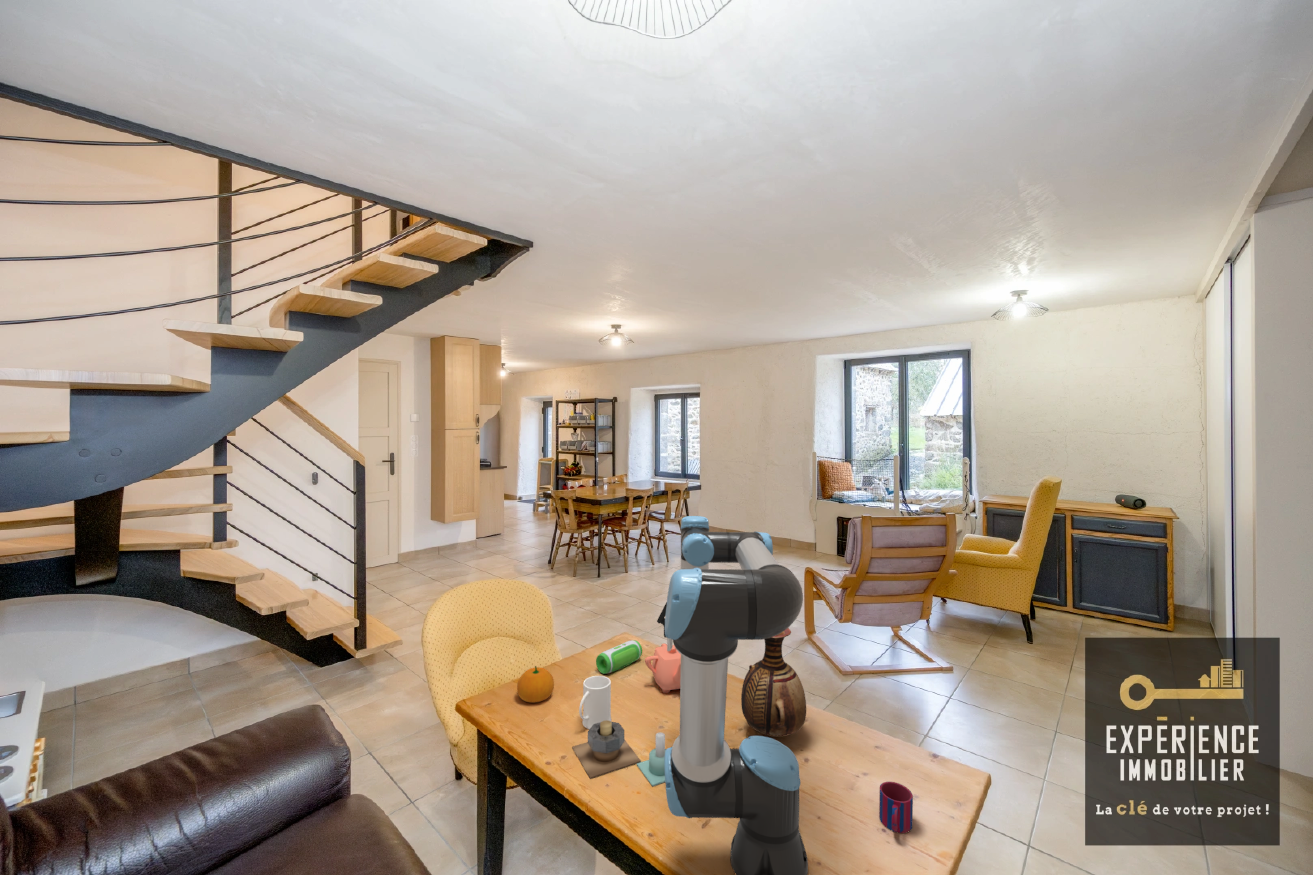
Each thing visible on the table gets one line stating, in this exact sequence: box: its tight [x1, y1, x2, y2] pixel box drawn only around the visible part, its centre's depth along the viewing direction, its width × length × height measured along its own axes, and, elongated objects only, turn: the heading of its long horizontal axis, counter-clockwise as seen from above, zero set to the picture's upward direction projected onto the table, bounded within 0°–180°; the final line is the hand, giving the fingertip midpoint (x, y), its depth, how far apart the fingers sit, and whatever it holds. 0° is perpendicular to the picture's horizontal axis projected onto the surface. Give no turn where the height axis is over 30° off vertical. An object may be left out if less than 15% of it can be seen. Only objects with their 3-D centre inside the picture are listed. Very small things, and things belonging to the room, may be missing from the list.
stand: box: [636, 732, 667, 788], centre depth 132 cm, size 9×9×9 cm
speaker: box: [595, 640, 643, 675], centre depth 189 cm, size 18×7×8 cm, turn 138°
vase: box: [740, 627, 807, 737], centre depth 148 cm, size 21×18×30 cm
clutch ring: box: [587, 721, 625, 753], centre depth 138 cm, size 9×9×3 cm
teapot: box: [644, 642, 681, 694], centre depth 175 cm, size 17×16×13 cm
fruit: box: [516, 665, 555, 704], centre depth 167 cm, size 12×12×10 cm
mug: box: [578, 675, 612, 730], centre depth 152 cm, size 12×8×12 cm
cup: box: [878, 781, 914, 834], centre depth 114 cm, size 7×10×7 cm
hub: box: [572, 720, 642, 780], centre depth 138 cm, size 14×14×8 cm
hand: (694, 652), depth 140 cm, fingers open, 13 cm apart
